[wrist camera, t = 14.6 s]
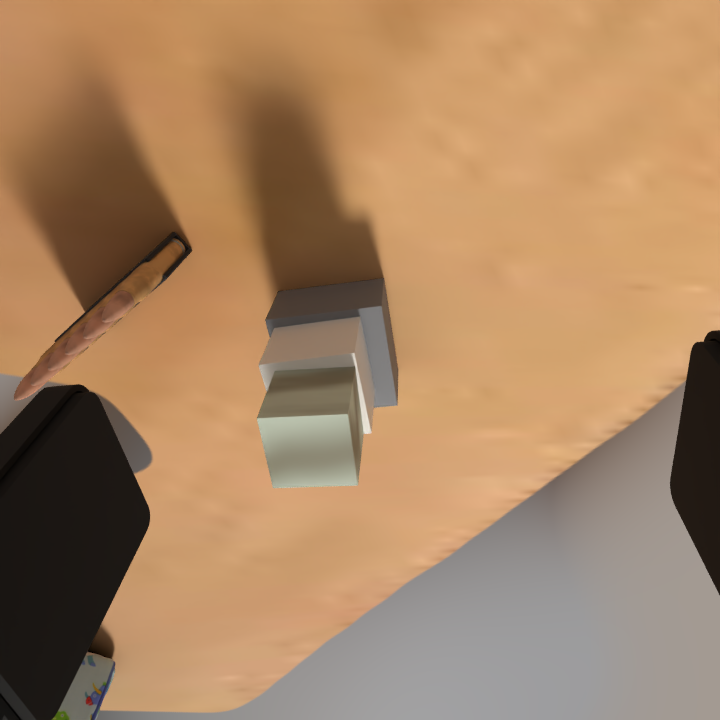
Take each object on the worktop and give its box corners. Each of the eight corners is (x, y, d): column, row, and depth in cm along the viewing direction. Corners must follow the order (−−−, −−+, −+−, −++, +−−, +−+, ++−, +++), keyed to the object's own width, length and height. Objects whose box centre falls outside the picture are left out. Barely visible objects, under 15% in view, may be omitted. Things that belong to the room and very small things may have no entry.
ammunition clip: (174, 230, 43) (100, 299, 33) (193, 250, 44) (126, 323, 34) (84, 312, 47) (-7, 397, 37) (103, 329, 48) (19, 417, 37)
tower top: (274, 328, 41) (258, 365, 37) (360, 316, 40) (354, 352, 36) (294, 400, 44) (282, 442, 40) (375, 390, 43) (371, 432, 39)
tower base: (278, 290, 45) (265, 319, 41) (383, 277, 44) (381, 305, 40) (301, 380, 49) (290, 415, 45) (398, 369, 48) (397, 405, 44)
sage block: (274, 370, 37) (256, 418, 33) (355, 366, 36) (347, 413, 32) (288, 435, 39) (273, 488, 35) (363, 432, 39) (357, 485, 35)
